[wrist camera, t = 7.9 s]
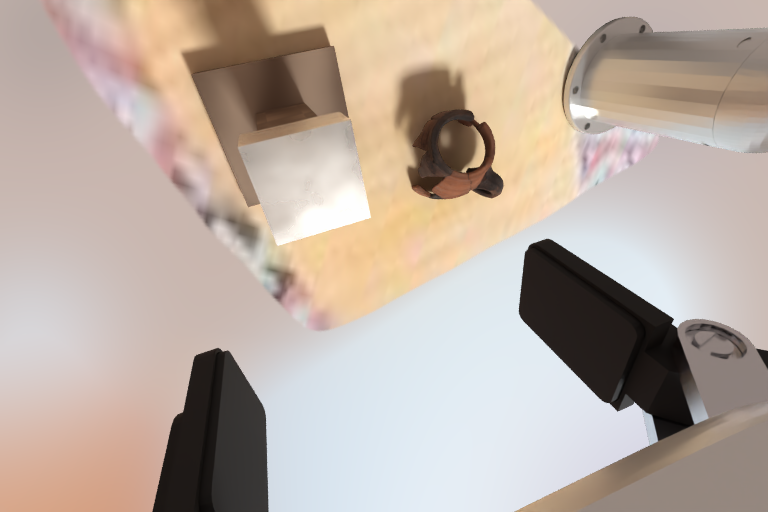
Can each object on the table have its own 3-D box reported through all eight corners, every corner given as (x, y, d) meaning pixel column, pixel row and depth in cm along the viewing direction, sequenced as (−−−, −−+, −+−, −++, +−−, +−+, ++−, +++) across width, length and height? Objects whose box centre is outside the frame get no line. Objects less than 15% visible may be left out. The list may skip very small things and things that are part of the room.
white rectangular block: (310, 91, 30) (350, 119, 18) (327, 156, 33) (370, 217, 21) (243, 106, 29) (237, 147, 17) (267, 172, 32) (277, 245, 20)
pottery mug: (386, 186, 40) (410, 168, 32) (412, 115, 41) (442, 81, 33) (470, 224, 43) (512, 216, 35) (493, 157, 44) (538, 135, 36)
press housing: (330, 46, 31) (369, 44, 20) (357, 171, 37) (396, 217, 27) (193, 73, 28) (162, 86, 18) (248, 201, 35) (247, 262, 25)
